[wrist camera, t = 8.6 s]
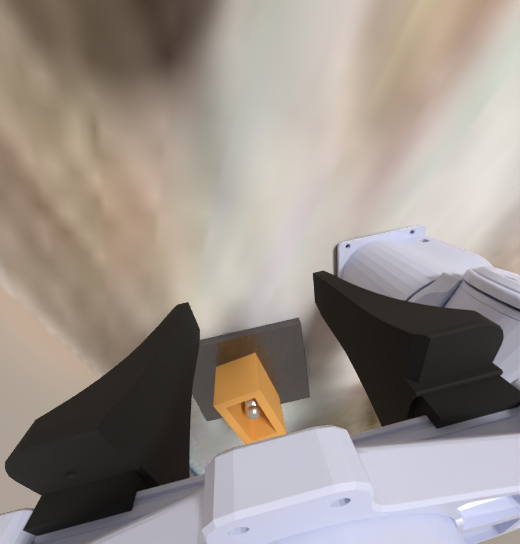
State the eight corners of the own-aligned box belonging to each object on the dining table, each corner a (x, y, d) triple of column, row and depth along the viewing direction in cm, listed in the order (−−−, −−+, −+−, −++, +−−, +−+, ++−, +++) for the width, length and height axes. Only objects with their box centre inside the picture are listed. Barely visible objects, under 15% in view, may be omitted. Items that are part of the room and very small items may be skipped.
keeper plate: (298, 317, 27) (313, 352, 22) (307, 390, 34) (320, 429, 29) (172, 346, 26) (158, 388, 22) (207, 414, 33) (204, 457, 29)
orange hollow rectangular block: (255, 352, 27) (260, 389, 23) (278, 396, 32) (286, 433, 27) (216, 366, 28) (213, 406, 23) (245, 407, 32) (247, 446, 28)
